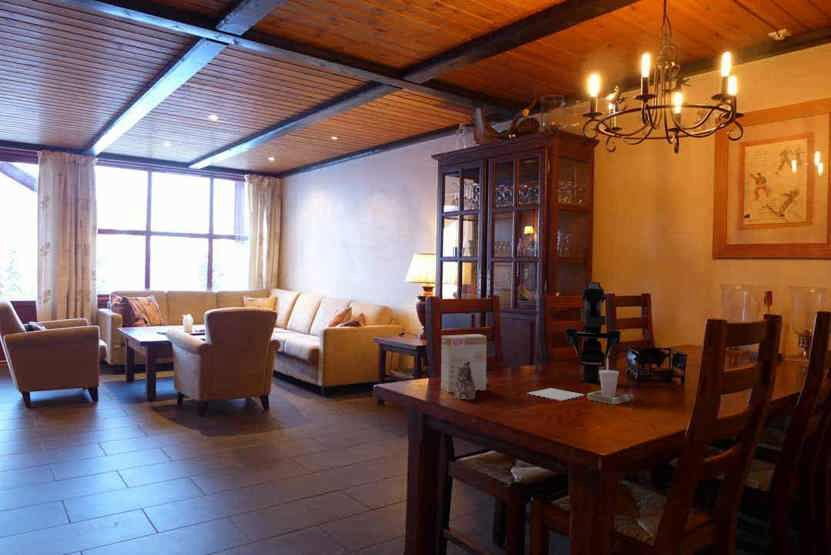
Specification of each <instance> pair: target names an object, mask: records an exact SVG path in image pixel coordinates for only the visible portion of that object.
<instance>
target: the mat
mask: <svg viewBox="0 0 831 555" xmlns="http://www.w3.org/2000/svg"><path fill="white" fill-rule="evenodd" d="M528 394H530V396H533V395H535V396H534V397H538V396H540V398H543V397H545V398H544V399H548V398H549V399H548V400H553V399H554V400H553V401H557V400H558V401H559V402H565V401H567V400H568V399H569V400H573V399H576V397H577V398H581V397H585V396H584V395H586V394H585V393H584V394H583V393H577V392H572V391H567V390H563V389H558V388H553V387H548V388H545V389H539V390H536V391H535V390H534V391H530V392H527V393H526V395H528ZM580 396H581V397H580ZM572 398H573V399H572ZM564 400H565V401H564Z"/></svg>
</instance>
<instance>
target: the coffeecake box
mask: <svg viewBox="0 0 831 555" xmlns="http://www.w3.org/2000/svg"><path fill="white" fill-rule="evenodd" d="M440 351H441V352H440V353H441V354H440V356H441V359H440V360H441V363H440V366H441V368H440V369H441V371H440V373H441V374H440V389H441V390H442V389H443V390H442V391H444V390H445V391H444V392H446V391H447V392H446V393H448V392H450V393H454V390H455V384H456V379H457V378H456V376H458V366H459V365H460V364H461V363H462V362H467V361H469V362H470V364H469V367H470V369H471V376H472V377H473V379H474V385H475V392H477V390H480V391H487V384H486V378H487V335H483V334H481V333H477V334H475V333H474V334H473V333H472V334H449V335H446V334H445V335H443V334H442V335H441V350H440Z"/></svg>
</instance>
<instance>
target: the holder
mask: <svg viewBox="0 0 831 555" xmlns="http://www.w3.org/2000/svg"><path fill="white" fill-rule="evenodd" d="M587 399H588V400H587ZM586 400H587V401H591V400H593V401H594V402H596V401H598V402H597V403H601V402H603V403H602V404H606V403H608V404H607V405H612V404H613V405H612V406H615V404H617V405H620V404H623V403H622V402H624V403H626V401H627V402H630V401H629V400H631V394H626V393H621V392H615V398H611V397H606V396H602V389H601V390H597V391H593V392H589V393H586ZM593 401H592V402H593ZM619 403H620V404H619Z"/></svg>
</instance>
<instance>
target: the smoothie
mask: <svg viewBox="0 0 831 555" xmlns="http://www.w3.org/2000/svg"><path fill="white" fill-rule="evenodd" d="M619 373H620V372H619V371H618V370H614V369H613V370H612V369H609V358H608V357H607V358H606V369H600V371H599V374H600V380H601V382H600V388H601V390H602V396H606V397H611V398H615V392H616V390H617V384H618V379H619V376H620V374H619Z"/></svg>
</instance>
